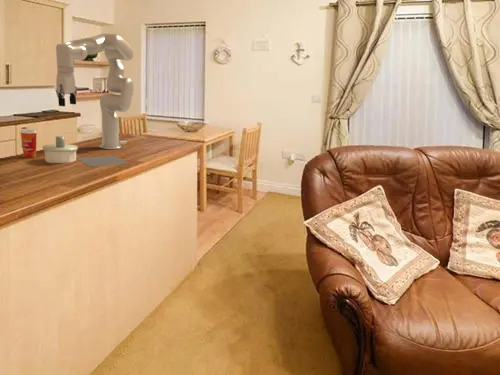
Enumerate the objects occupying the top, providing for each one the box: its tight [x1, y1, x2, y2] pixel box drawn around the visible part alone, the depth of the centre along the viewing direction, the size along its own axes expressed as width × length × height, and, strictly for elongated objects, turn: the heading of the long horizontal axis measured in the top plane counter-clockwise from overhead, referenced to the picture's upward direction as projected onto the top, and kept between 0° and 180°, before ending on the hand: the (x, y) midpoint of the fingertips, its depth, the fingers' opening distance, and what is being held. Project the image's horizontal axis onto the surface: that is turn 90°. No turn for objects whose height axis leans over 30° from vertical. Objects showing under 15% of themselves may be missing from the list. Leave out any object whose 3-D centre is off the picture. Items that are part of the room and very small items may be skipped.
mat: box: [76, 155, 130, 168], centre depth 221 cm, size 20×20×1 cm
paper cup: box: [19, 128, 38, 159], centre depth 217 cm, size 8×8×14 cm
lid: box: [42, 136, 79, 152], centre depth 214 cm, size 16×16×6 cm
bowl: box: [43, 150, 77, 164], centre depth 215 cm, size 14×14×6 cm
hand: (67, 105), depth 218 cm, fingers open, 9 cm apart
